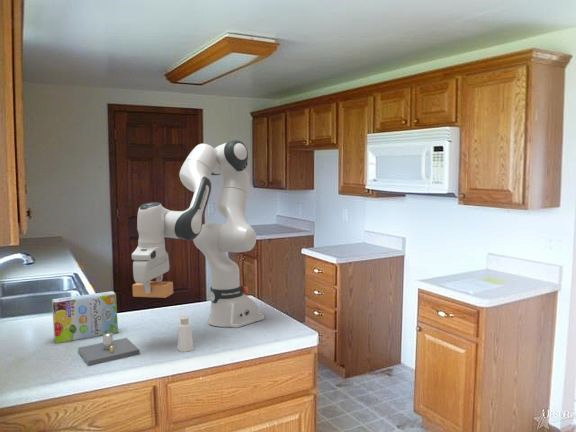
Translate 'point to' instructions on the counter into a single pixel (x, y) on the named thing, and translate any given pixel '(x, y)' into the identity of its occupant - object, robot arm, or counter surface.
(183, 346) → the pepper shaker
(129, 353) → the base plate
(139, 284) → the orange block with recesses
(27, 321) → the counter surface
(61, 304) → the snack box
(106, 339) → the steel post
